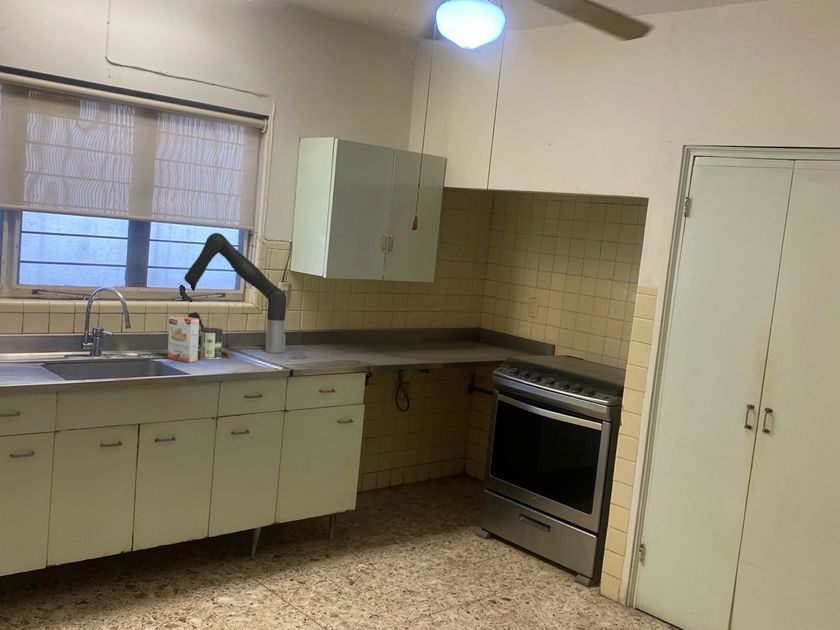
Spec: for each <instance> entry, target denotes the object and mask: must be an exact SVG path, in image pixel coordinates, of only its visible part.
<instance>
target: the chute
mask: <svg viewBox="0 0 840 630" xmlns="http://www.w3.org/2000/svg"><path fill="white" fill-rule="evenodd" d="M221 358H225V359H231V352H229V351H225V350H223V349H222V350H221ZM198 359H199V361H203V360H204V359H203V355H202V354H200V353H199V352H198Z"/></svg>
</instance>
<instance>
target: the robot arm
mask: <svg viewBox="0 0 840 630" xmlns="http://www.w3.org/2000/svg"><path fill="white" fill-rule="evenodd" d="M217 254H220V255H221V256H222V257H224V258H225V260H227V262H228V263H229V264H230V266H231V268H232V269H233V270H234V272H236V274H237V275H239V277H240V278H242V279H243V280H244V281H245V282H246V283H248V284H249V285H251V286H252V287H254V288H255V289H257V290H258V291H259V292H260V293H261V294H262V295H263V296H264V297H265V298H266V299H267V313H266V314H267V316H266V331H265V332H266V335H265V352H266V353H270V354H273V353H274V354H282V353H285V352H286V339H287V338H286V335H287V334H286V333H285V324H286V323H285V322H286V309H287V296H286V293H285V291H284V290H282V289H281V288H279V287H278V286H277V285H275V283H273V282H271V281H270V280H269V279H268V277H266V276H265V275H264V273H263V272H262V271H261V270H260V269H259V268H258V267H257V266H256V265H255V264H254V263H253V262H252V261H250V259H248V258H247V257H246V256H244V255H243V254H242V252H240V251H238V249H236V248H235V247H234V245H232V244H231V242H230V241H229V240H228V239H227V238H226V237H225V236H224V235H223V234H221V233H219V232H214V233H211V234H210V235H209V236H208V237H207V238H206V241H205V244H204V246H203V248H202V250H201V252H200V254H199V255H198V257H197V258H196V259H195V261H194V262H193V264H191V266H190V267H189V269H188V271H187V272H186V274H184V275H185V276H184V281H185V282H186V283H187V284H188V283H189V284H190V285H191V288H192V290H193V291H194V290H196V288H197V284H198V283H199V281H200V280H201V278H202V276H203V275H204V273H205V272H206V269H207V268H208V266H209V265H210V262H211V261H212V260H213V259H214V258H215V256H217ZM183 285H184V284H183ZM183 285H180V287H179V288H180V289H179V290H180V295H181V296H182V300H183V301H189V302H192V301H194V300H193V298H192V297H191V298H190V297H188V296H187V294H186V293H185V290H186V289H185V287H184V286H183ZM194 292H195V291H194ZM198 313H199V312H198ZM198 313H197V312H193V313H190V314H189V316H188V317H191V318H197V319H199V337H198V346H201V329H202V328H209V327H208V326H207V327H205V325H204V324H203V323H202V319H201V316H200V313H199V314H198Z"/></svg>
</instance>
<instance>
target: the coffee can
mask: <svg viewBox="0 0 840 630" xmlns="http://www.w3.org/2000/svg"><path fill="white" fill-rule="evenodd" d="M223 331H224V330H223V329H222V328H217V327H208V328H207V327H205V328H202V329H201V345H200V350H199V352H200V353H199V354H202V355H203V360H220V359H222V356H221V350H222V351H223V347H222V345H223Z"/></svg>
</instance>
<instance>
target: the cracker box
mask: <svg viewBox="0 0 840 630" xmlns="http://www.w3.org/2000/svg"><path fill="white" fill-rule="evenodd" d="M168 318H169V319H168V342H167V345H168V346H167V359H168V358H170V359H169V360H172V359H174V361H177V360H178V361H179V362H182V363H187V364H191V363H196V362H198V353H199V344H198V337H199V319H197V318H191V317H185V316H183V315H180V314H179V315H177V314H176V315H169V317H168Z"/></svg>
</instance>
